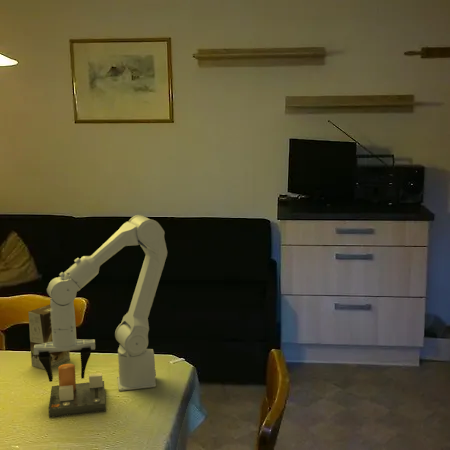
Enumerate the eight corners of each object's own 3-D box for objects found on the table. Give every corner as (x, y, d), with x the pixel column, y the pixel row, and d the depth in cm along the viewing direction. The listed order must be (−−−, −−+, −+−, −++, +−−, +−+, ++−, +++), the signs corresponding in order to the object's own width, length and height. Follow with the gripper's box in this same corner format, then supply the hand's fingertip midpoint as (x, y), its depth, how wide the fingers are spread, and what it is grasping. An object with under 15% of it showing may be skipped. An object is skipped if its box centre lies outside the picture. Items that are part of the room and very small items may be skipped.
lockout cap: (78, 387, 154) (77, 364, 153) (71, 393, 150) (70, 370, 149) (64, 385, 155) (63, 363, 154) (56, 392, 151) (55, 369, 150)
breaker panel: (104, 388, 158) (104, 379, 157) (105, 411, 145) (105, 401, 145) (52, 393, 155) (51, 384, 155) (49, 417, 142) (48, 408, 142)
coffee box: (46, 370, 169) (42, 314, 167) (30, 365, 173) (26, 311, 170) (71, 359, 177) (67, 305, 174) (55, 355, 180) (52, 302, 178)
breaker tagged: (73, 396, 148) (73, 385, 148) (73, 399, 147) (72, 388, 146) (60, 398, 148) (59, 386, 147) (59, 401, 146) (59, 389, 145)
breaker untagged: (102, 384, 155) (102, 372, 155) (102, 387, 153) (102, 375, 153) (89, 385, 155) (89, 374, 154) (89, 388, 153) (89, 377, 152)
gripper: (93, 318, 155) (96, 369, 157) (34, 323, 152) (38, 374, 154) (93, 327, 148) (96, 380, 151) (31, 333, 145) (35, 386, 148)
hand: (67, 378), depth 152 cm, fingers open, 7 cm apart
